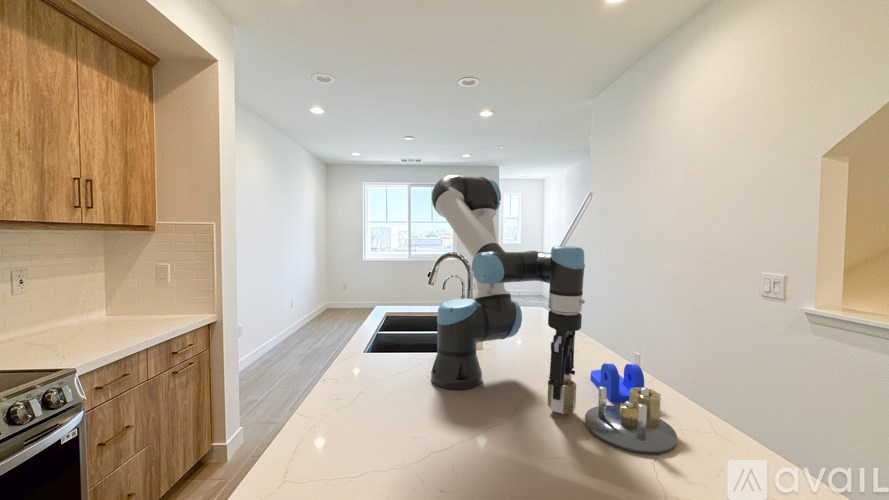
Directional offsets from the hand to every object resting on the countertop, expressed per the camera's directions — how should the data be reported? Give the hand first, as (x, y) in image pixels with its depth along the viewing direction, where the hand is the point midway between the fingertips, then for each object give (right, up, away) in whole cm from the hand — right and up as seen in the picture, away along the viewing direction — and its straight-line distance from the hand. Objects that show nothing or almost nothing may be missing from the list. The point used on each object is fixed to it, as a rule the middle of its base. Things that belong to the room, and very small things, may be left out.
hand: (560, 405), depth 86 cm
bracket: (+19, -2, +14) cm, 24 cm away
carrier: (+13, -2, -7) cm, 15 cm away
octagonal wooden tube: (0, 0, 0) cm, 0 cm away
